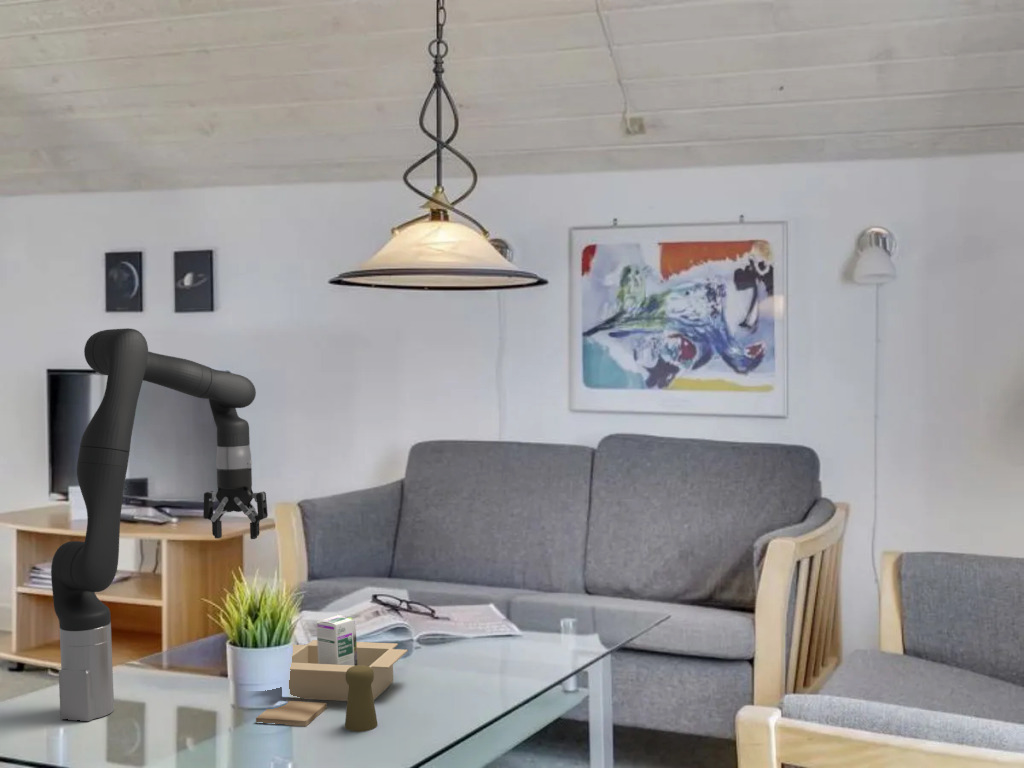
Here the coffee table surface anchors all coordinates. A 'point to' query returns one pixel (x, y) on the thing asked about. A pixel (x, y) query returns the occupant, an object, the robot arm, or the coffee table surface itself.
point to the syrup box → (337, 641)
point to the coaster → (293, 713)
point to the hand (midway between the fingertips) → (236, 538)
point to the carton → (339, 671)
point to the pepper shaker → (360, 699)
